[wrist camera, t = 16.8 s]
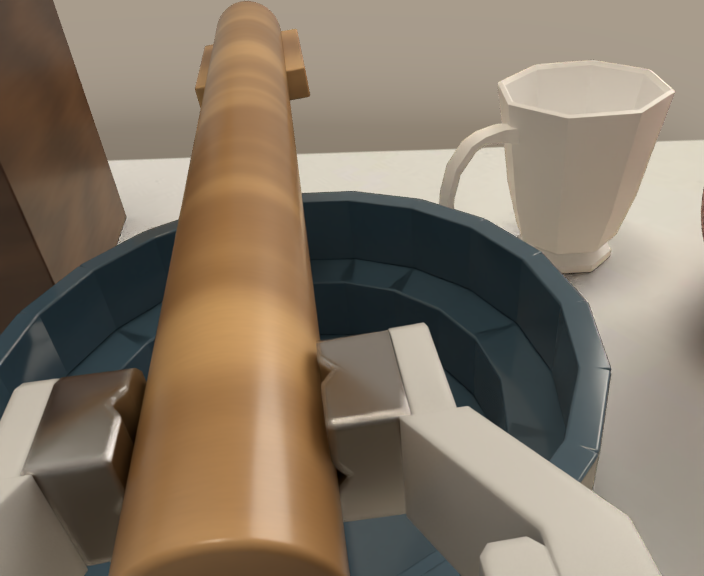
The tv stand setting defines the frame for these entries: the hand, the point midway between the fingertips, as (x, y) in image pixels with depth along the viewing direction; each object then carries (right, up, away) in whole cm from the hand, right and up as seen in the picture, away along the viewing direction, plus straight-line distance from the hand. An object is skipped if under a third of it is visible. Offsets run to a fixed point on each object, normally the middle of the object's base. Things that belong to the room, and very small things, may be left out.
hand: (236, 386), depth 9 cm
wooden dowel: (-1, +4, +7) cm, 8 cm away
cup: (+11, +3, +22) cm, 25 cm away
